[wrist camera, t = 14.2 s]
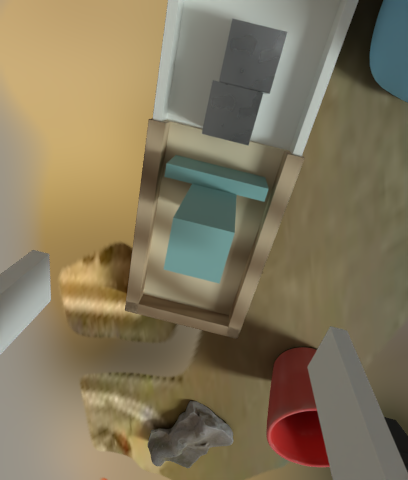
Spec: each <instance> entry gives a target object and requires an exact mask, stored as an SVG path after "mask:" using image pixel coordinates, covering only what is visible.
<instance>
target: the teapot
mask: <svg viewBox="0 0 408 480" xmlns="http://www.w3.org/2000/svg"><path fill="white" fill-rule="evenodd" d="M370 68H371V72H372V75H373V77H374V79H375V81H376V82H377V83H378V84H379V85H380V86H381V87H382V88H383V89H385V90H386V91H388V92H389V93H391V94H392V95H394V96H396V97H398V98H400V99H401V100H403V101H405V102H408V0H383V3H382V5H381V8H380V11H379V14H378V17H377V21H376V24H375V28H374V32H373V36H372V41H371V48H370Z"/></svg>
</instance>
